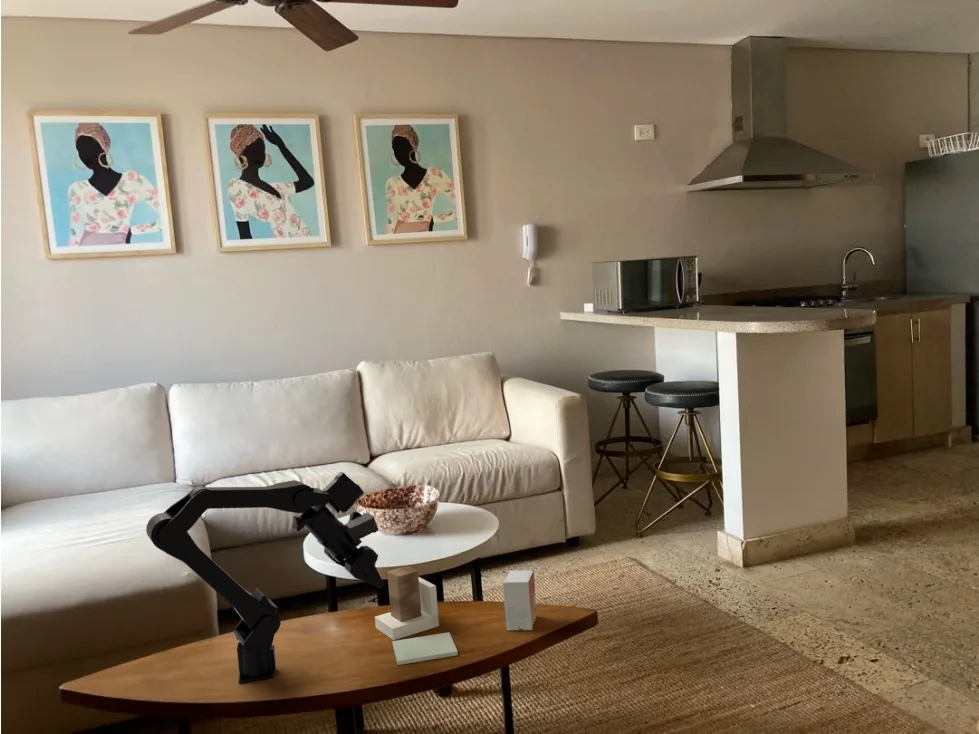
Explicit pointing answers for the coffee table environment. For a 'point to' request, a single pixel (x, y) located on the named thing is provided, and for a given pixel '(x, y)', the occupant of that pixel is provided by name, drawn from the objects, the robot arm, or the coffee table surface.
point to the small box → (520, 600)
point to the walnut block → (404, 593)
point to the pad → (424, 648)
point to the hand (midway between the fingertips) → (374, 580)
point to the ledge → (415, 625)
